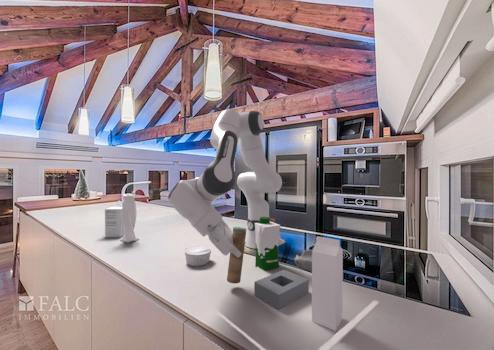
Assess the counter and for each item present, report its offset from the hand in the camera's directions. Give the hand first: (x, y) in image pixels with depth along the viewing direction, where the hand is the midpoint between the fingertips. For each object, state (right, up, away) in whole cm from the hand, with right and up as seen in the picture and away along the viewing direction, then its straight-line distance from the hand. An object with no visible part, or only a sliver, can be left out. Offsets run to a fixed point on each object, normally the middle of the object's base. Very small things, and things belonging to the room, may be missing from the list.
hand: (239, 252), depth 76 cm
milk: (+23, -13, -16) cm, 31 cm away
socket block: (+13, -13, -4) cm, 19 cm away
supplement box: (-77, -12, +66) cm, 102 cm away
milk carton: (+11, -13, +18) cm, 24 cm away
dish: (+30, -13, +20) cm, 38 cm away
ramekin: (-19, -13, +24) cm, 33 cm away
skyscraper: (-63, -12, +54) cm, 84 cm away
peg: (-2, -9, 0) cm, 9 cm away
